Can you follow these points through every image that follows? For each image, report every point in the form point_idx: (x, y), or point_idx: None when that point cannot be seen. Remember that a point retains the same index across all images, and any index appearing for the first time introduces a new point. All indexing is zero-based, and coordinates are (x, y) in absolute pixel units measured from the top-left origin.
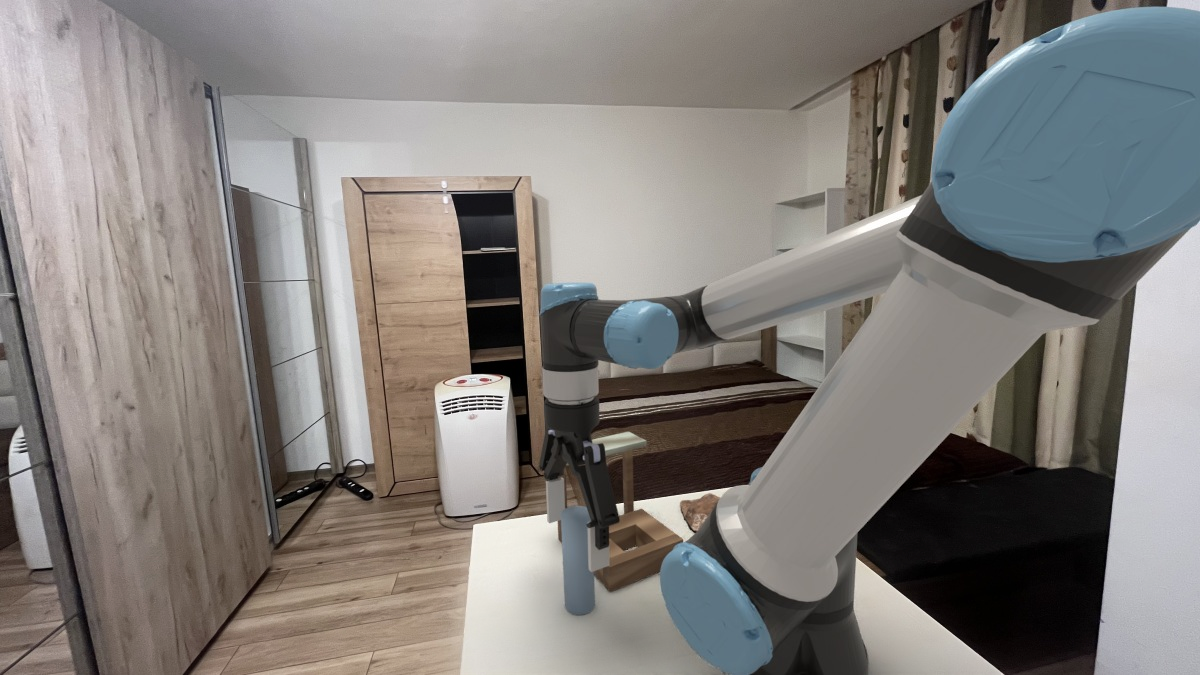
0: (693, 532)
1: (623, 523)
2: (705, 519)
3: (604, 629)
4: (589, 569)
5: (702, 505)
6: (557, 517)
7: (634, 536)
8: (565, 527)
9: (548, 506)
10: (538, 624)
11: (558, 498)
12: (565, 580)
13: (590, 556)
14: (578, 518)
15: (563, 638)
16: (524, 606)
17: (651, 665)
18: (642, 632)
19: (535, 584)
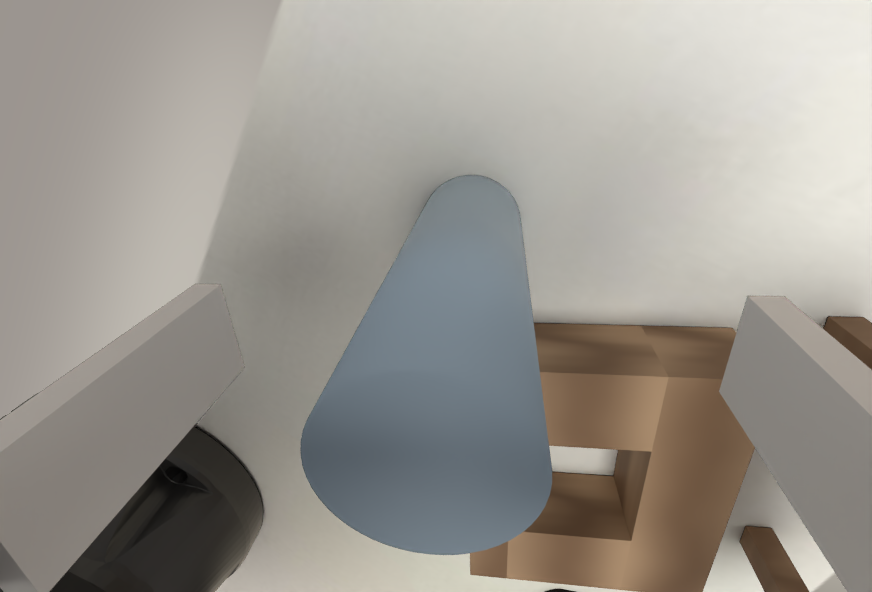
0: (562, 589)
1: (666, 521)
2: None
3: (343, 238)
4: (208, 285)
5: None
6: (743, 361)
7: (622, 499)
8: (388, 336)
9: (825, 368)
10: (455, 58)
11: (821, 478)
12: (457, 205)
13: (141, 323)
14: (341, 452)
15: (359, 114)
16: (573, 39)
17: (199, 274)
18: (297, 311)
19: (665, 127)
